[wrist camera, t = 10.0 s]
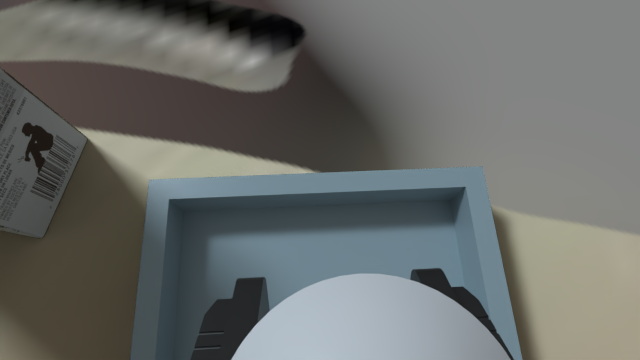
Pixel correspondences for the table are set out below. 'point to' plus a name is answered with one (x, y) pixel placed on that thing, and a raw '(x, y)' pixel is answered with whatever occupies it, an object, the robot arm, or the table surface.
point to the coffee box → (32, 159)
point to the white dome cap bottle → (369, 324)
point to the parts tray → (309, 242)
